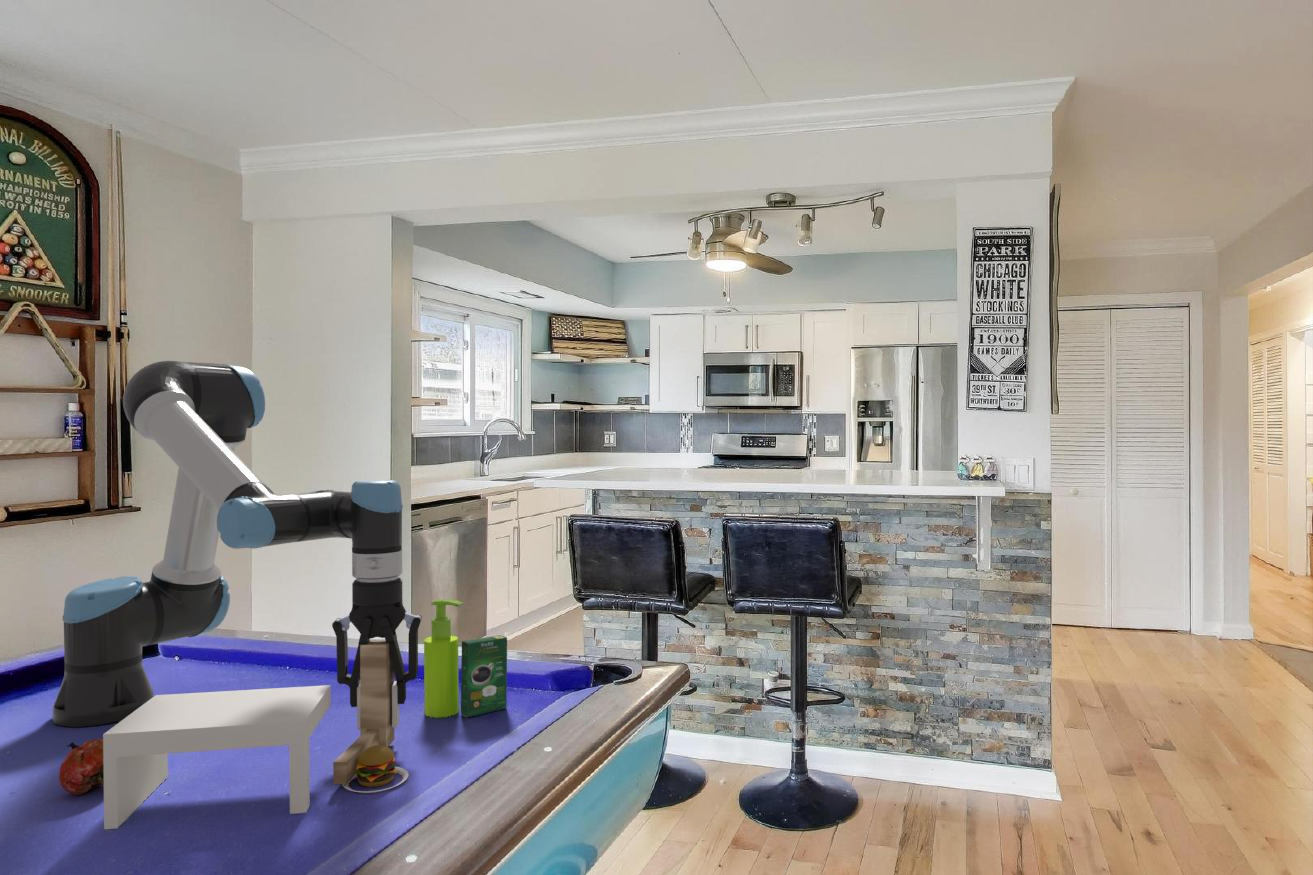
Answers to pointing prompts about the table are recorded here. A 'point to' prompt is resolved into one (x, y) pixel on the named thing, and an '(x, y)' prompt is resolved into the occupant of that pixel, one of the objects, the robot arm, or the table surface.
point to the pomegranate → (83, 767)
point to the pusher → (370, 707)
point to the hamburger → (376, 768)
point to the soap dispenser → (441, 665)
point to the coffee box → (483, 675)
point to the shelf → (208, 738)
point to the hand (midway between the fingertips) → (378, 724)
